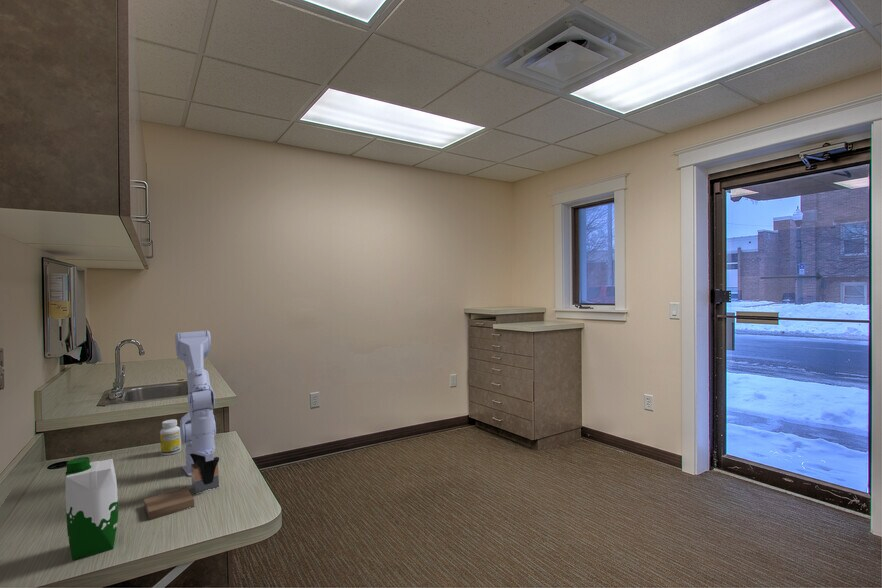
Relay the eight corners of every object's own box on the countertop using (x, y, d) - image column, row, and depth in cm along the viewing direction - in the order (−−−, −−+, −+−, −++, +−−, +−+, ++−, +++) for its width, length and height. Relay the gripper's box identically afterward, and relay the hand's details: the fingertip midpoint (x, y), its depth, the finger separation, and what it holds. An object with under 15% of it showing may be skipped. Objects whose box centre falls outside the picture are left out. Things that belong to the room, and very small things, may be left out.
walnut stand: (144, 506, 121) (143, 498, 121) (186, 494, 127) (186, 487, 127) (149, 520, 113) (149, 512, 113) (194, 506, 120) (193, 499, 120)
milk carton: (71, 545, 103) (66, 457, 103) (120, 532, 108) (116, 448, 108) (66, 564, 95) (61, 469, 95) (119, 549, 101) (114, 458, 100)
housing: (192, 488, 131) (190, 464, 131) (214, 482, 135) (213, 458, 135) (195, 494, 127) (194, 469, 127) (219, 487, 131) (217, 463, 131)
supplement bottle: (165, 450, 166) (163, 419, 166) (184, 448, 167) (182, 417, 167) (158, 456, 160) (156, 424, 160) (177, 454, 161) (175, 422, 161)
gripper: (182, 430, 134) (184, 476, 134) (192, 441, 123) (195, 491, 123) (208, 424, 139) (210, 469, 139) (220, 435, 127) (223, 483, 128)
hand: (205, 479), depth 131 cm, fingers open, 7 cm apart
